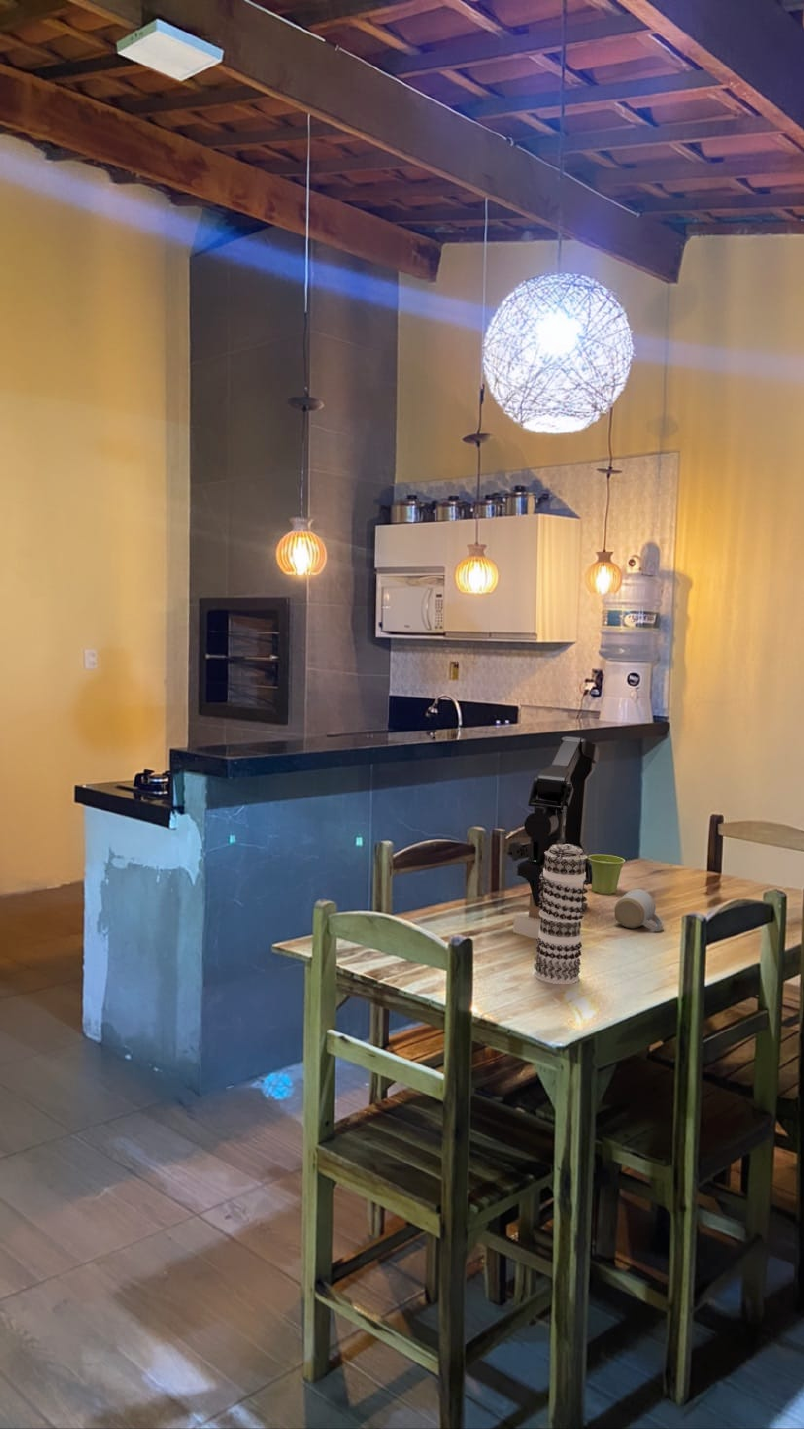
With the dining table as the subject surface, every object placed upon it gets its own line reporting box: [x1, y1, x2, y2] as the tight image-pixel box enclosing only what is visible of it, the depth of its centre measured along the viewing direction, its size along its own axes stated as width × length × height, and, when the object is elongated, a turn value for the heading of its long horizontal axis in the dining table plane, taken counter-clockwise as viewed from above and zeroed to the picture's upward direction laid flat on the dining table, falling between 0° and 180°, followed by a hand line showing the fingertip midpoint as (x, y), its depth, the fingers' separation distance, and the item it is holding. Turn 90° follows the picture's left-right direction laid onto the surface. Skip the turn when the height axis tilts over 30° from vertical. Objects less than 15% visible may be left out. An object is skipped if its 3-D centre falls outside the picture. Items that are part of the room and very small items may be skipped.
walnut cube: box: [528, 893, 541, 919], centre depth 221 cm, size 5×5×5 cm
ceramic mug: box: [614, 888, 665, 932], centre depth 231 cm, size 11×8×8 cm
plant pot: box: [589, 854, 626, 895], centre depth 262 cm, size 9×9×9 cm
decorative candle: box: [533, 844, 589, 986], centre depth 192 cm, size 9×9×25 cm
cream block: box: [512, 910, 541, 939], centre depth 221 cm, size 9×9×4 cm
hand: (544, 903), depth 221 cm, fingers open, 6 cm apart
